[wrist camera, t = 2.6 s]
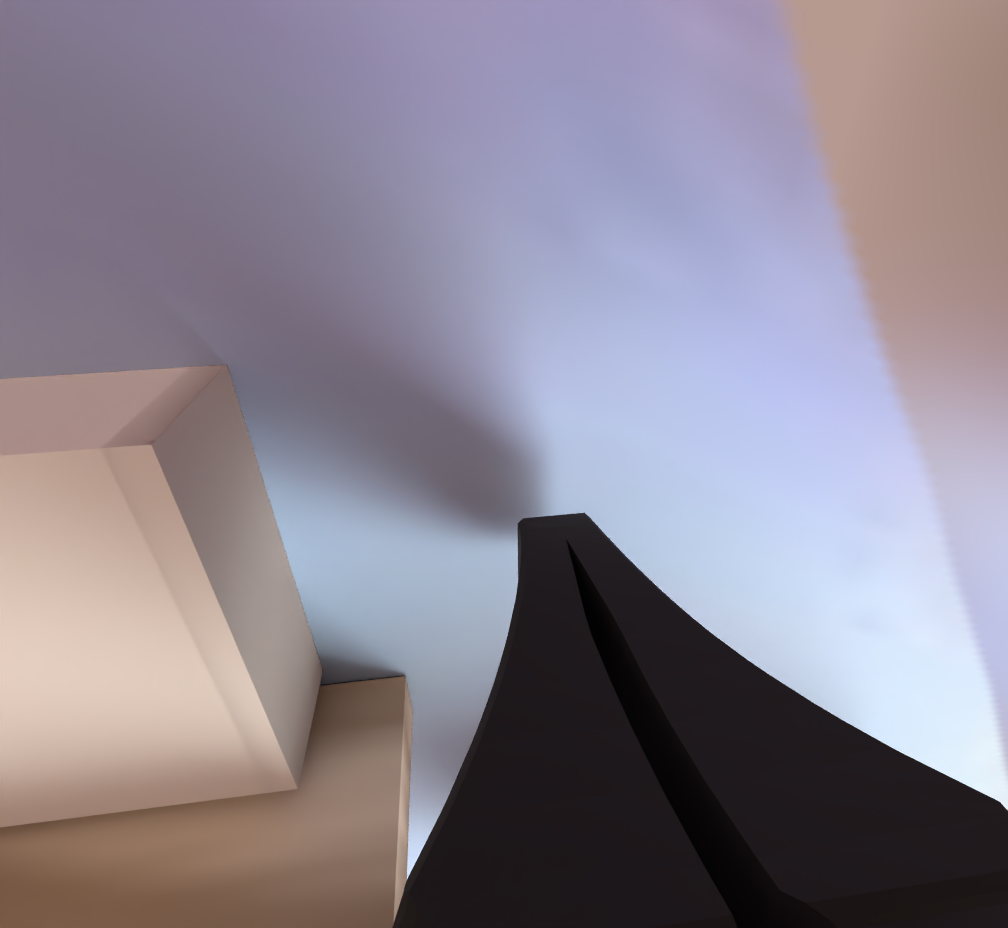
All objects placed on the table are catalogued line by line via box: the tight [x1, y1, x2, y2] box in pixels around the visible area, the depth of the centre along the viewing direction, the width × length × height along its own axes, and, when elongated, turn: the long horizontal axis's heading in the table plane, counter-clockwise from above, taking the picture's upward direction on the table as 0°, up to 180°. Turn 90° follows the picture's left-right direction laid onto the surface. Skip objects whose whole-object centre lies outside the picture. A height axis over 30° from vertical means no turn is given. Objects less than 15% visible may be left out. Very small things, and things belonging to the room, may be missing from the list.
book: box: [0, 365, 323, 827], centre depth 10 cm, size 8×7×3 cm
